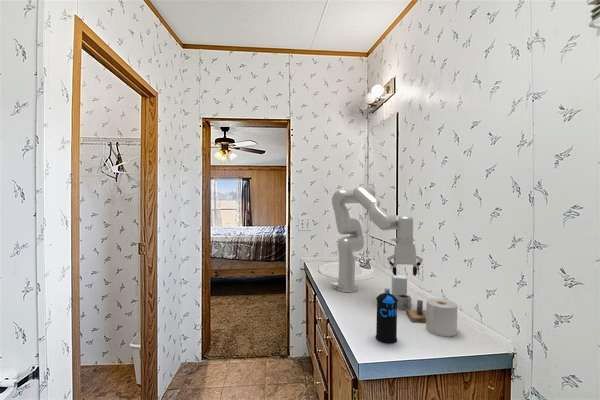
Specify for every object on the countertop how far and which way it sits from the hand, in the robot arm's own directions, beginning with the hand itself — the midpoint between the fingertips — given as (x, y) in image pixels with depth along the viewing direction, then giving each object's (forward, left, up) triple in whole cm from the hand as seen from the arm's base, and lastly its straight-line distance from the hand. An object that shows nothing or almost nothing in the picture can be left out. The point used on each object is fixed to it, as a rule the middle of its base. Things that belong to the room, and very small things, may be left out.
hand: (404, 275), depth 153 cm
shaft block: (+4, -12, -17) cm, 21 cm away
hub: (0, 0, -17) cm, 17 cm away
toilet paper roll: (+9, -24, -17) cm, 31 cm away
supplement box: (+1, +13, -17) cm, 21 cm away
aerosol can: (-16, -34, -17) cm, 41 cm away
